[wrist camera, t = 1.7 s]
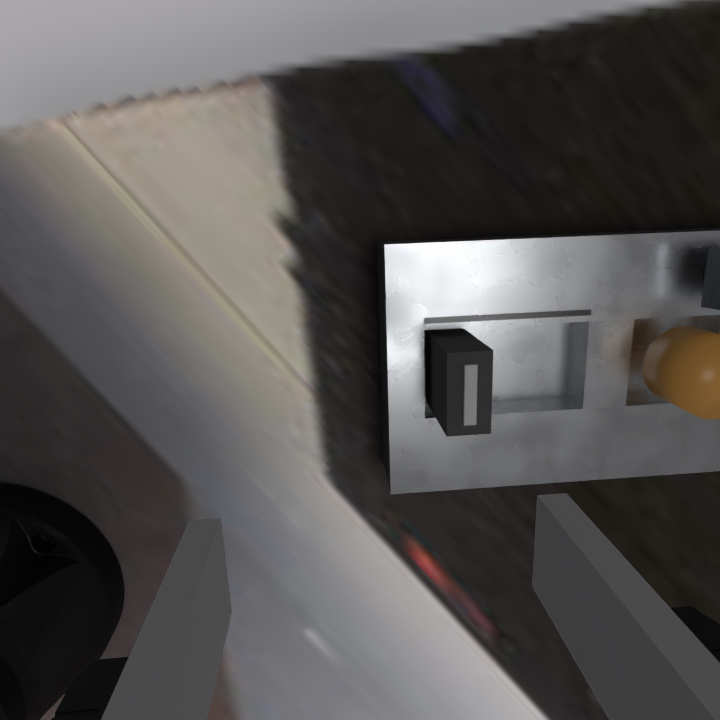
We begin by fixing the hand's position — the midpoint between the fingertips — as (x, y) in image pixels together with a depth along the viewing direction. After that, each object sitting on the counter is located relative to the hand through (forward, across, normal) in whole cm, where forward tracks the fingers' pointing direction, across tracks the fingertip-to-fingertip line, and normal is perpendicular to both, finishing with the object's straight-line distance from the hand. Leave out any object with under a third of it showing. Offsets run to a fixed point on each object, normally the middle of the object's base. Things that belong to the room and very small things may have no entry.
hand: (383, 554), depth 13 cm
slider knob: (+17, +5, 0) cm, 18 cm away
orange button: (+15, +18, 0) cm, 23 cm away
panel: (+19, +16, 0) cm, 25 cm away
